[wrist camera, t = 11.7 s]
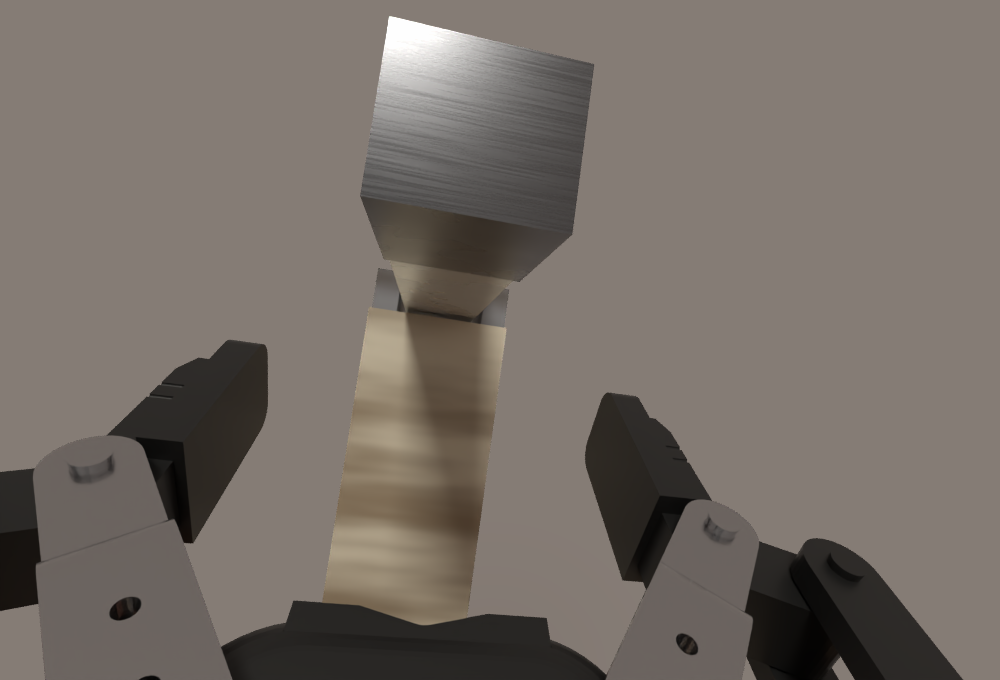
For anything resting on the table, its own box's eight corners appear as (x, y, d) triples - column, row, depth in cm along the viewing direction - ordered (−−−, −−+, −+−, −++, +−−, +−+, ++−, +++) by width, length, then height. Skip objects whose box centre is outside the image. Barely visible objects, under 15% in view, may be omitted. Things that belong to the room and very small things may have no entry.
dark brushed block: (571, 234, 9) (594, 64, 9) (360, 196, 8) (389, 16, 9) (470, 326, 29) (477, 271, 29) (405, 316, 28) (413, 260, 28)
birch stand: (420, 954, 24) (511, 290, 26) (265, 958, 23) (375, 267, 25) (421, 781, 34) (487, 311, 36) (313, 779, 33) (389, 295, 35)
